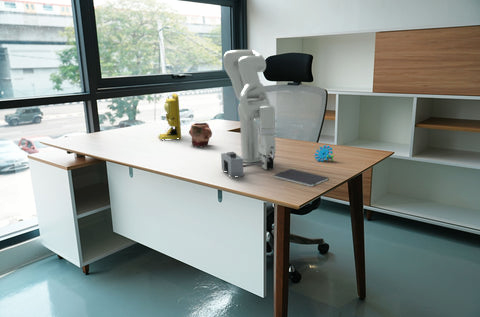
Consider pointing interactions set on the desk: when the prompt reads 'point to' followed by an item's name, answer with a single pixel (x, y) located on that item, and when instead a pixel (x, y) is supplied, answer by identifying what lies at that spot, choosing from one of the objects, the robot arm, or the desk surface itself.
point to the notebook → (301, 177)
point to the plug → (263, 163)
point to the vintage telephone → (172, 118)
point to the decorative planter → (200, 134)
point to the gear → (324, 153)
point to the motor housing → (232, 164)
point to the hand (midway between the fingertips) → (267, 167)
